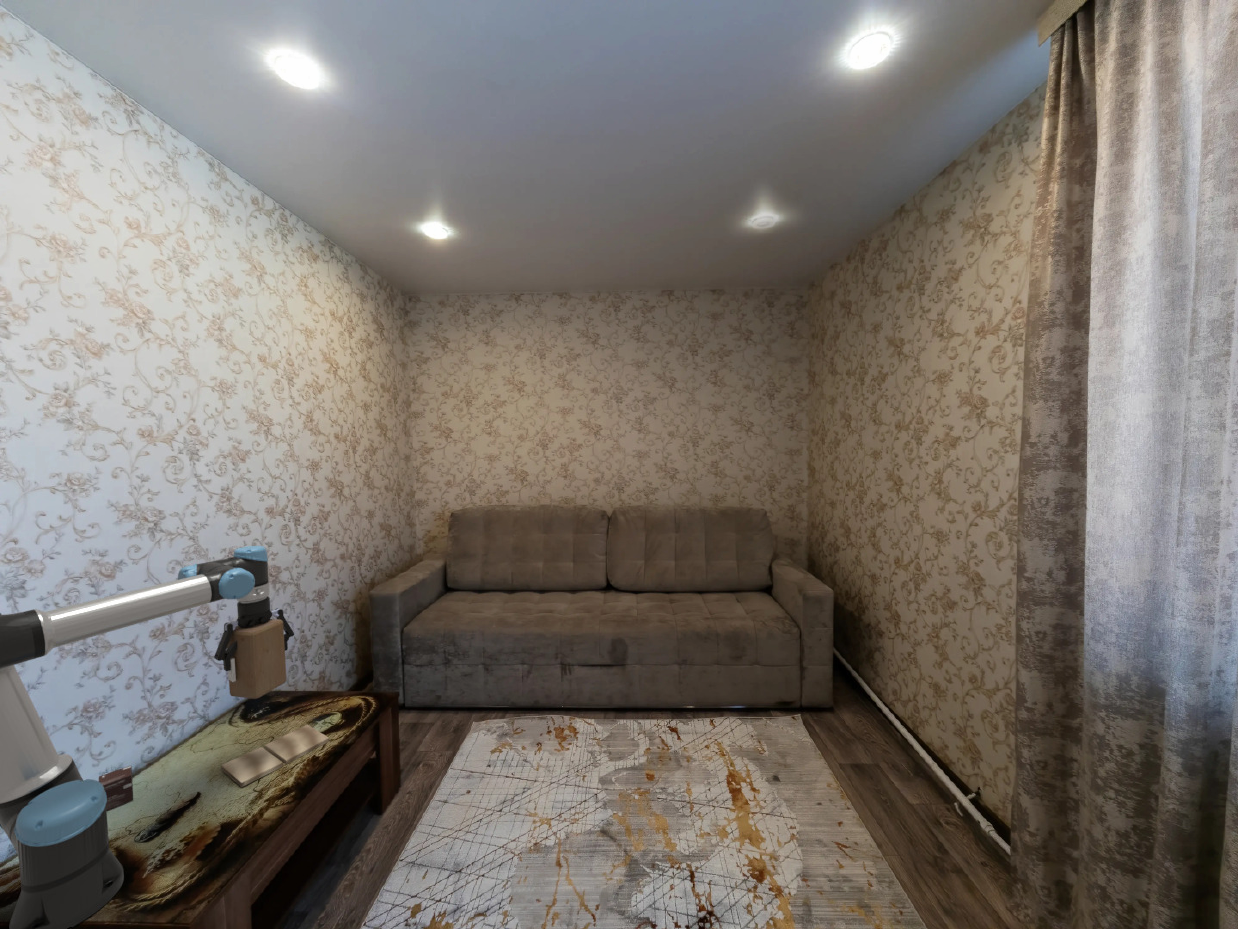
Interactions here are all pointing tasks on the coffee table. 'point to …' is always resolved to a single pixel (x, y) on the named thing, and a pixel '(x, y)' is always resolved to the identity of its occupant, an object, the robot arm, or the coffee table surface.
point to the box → (118, 787)
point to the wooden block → (258, 659)
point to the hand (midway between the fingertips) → (257, 670)
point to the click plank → (251, 766)
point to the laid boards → (296, 744)
